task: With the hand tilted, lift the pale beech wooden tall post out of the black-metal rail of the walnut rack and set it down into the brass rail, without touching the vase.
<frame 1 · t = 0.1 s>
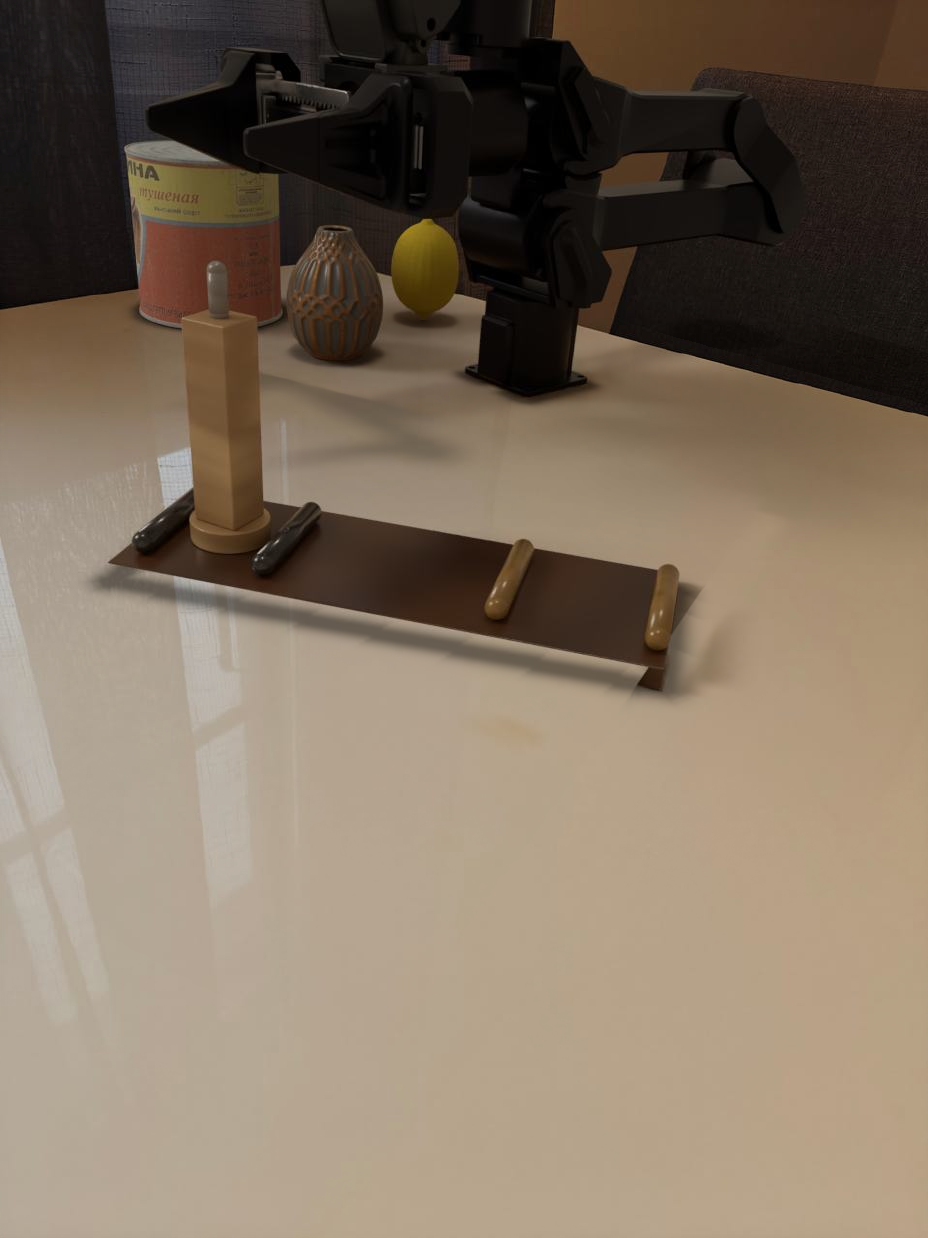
hand: (193, 129, 49), 17 cm above the table, tool horizontal, fingers open, 9 cm apart
canned food: (212, 313, 82), on the table
lemon: (422, 321, 85), on the table
rack: (401, 587, 46), on the table
wooden tall post: (231, 536, 46), point 1 cm above the table, touching rack
vase: (334, 355, 75), on the table
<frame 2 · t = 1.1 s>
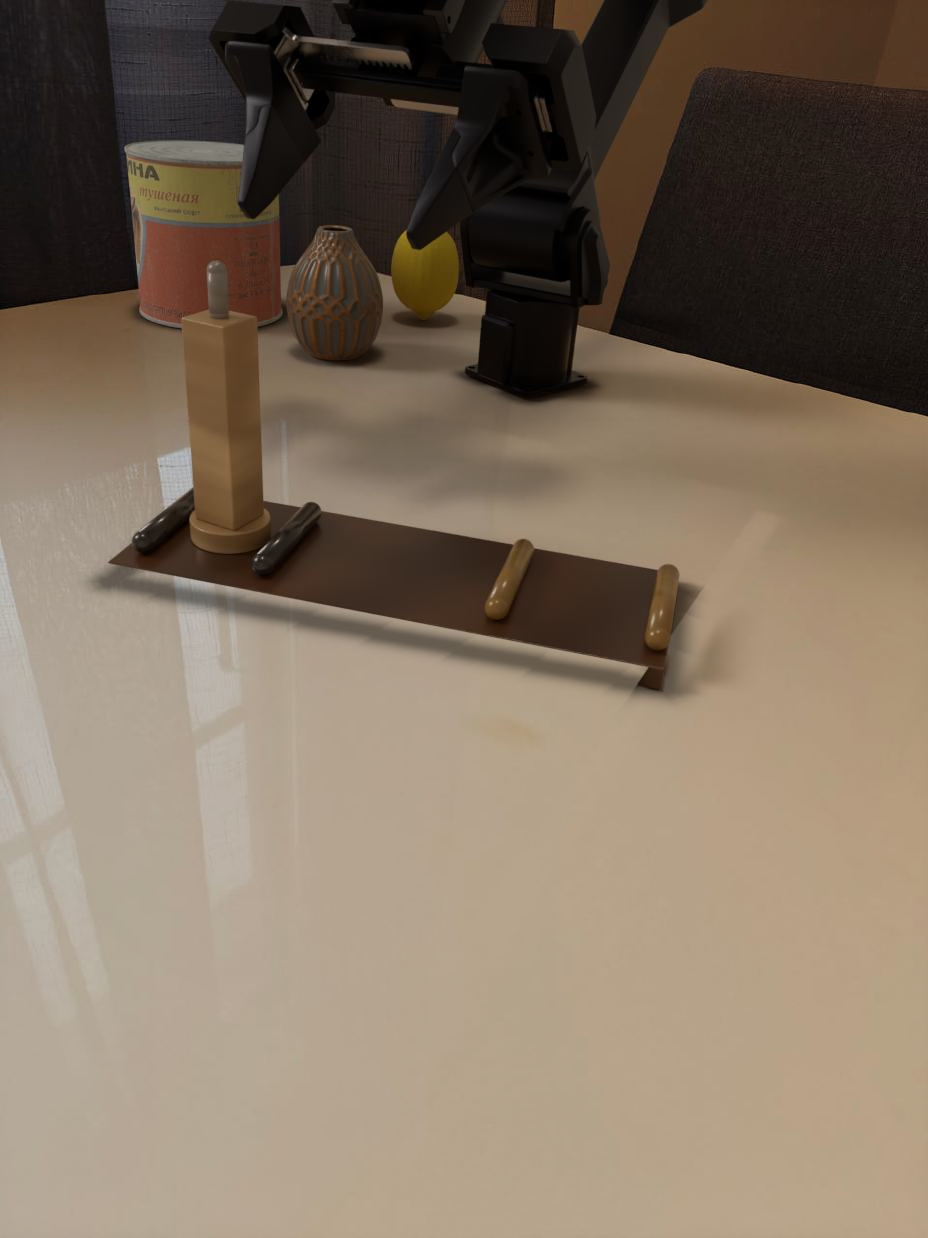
hand: (325, 227, 46), 13 cm above the table, tool tilted 45°, fingers open, 9 cm apart
nothing on the table moved.
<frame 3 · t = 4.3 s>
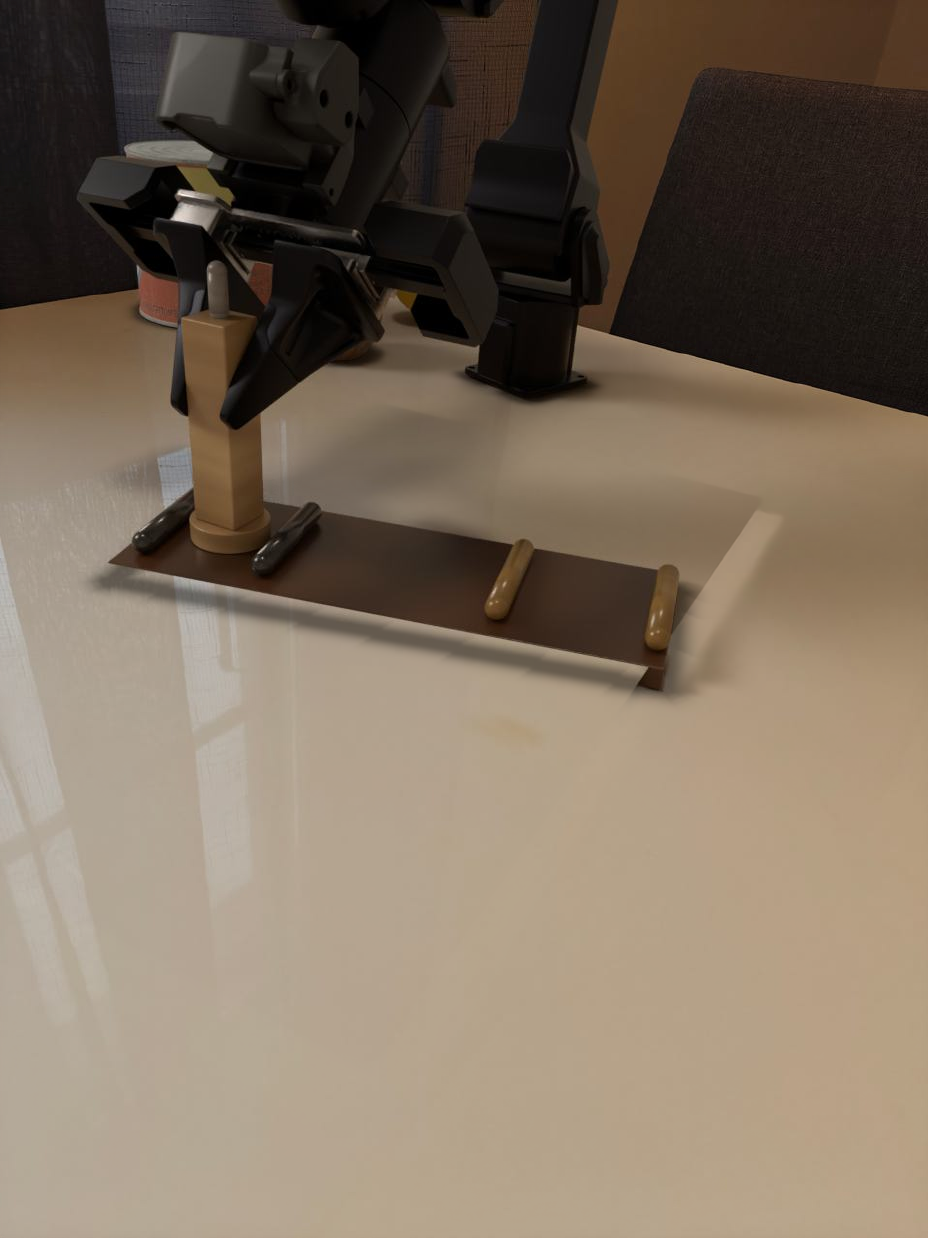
hand: (202, 417, 42), 7 cm above the table, tool tilted 45°, fingers closed on wooden tall post, 2 cm apart
wooden tall post: (231, 536, 46), point 1 cm above the table, touching gripper, rack
everything else where it was.
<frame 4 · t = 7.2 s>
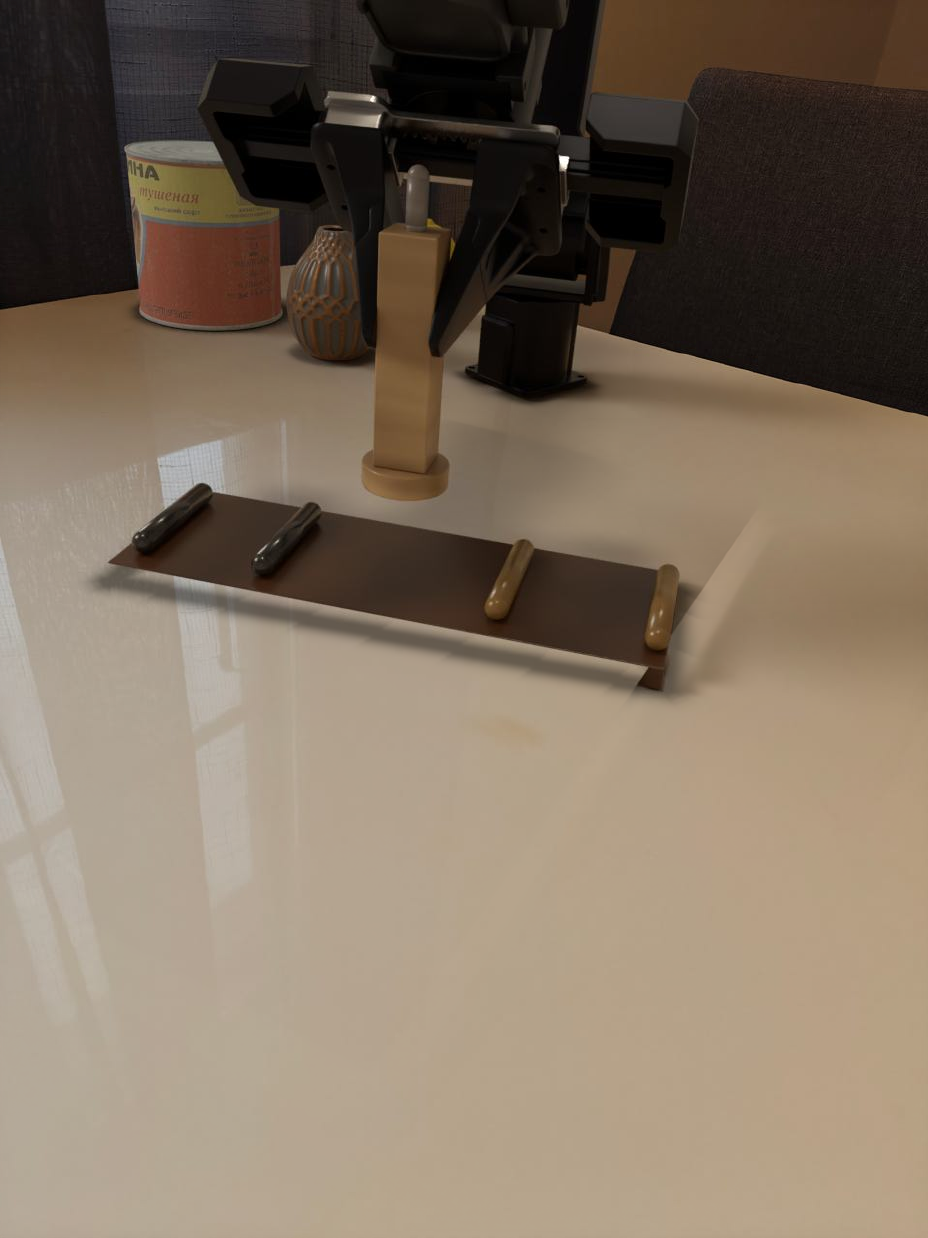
hand: (401, 347, 38), 11 cm above the table, tool tilted 45°, fingers closed on wooden tall post, 2 cm apart
wooden tall post: (404, 483, 42), point 5 cm above the table, touching gripper
everything else where it was.
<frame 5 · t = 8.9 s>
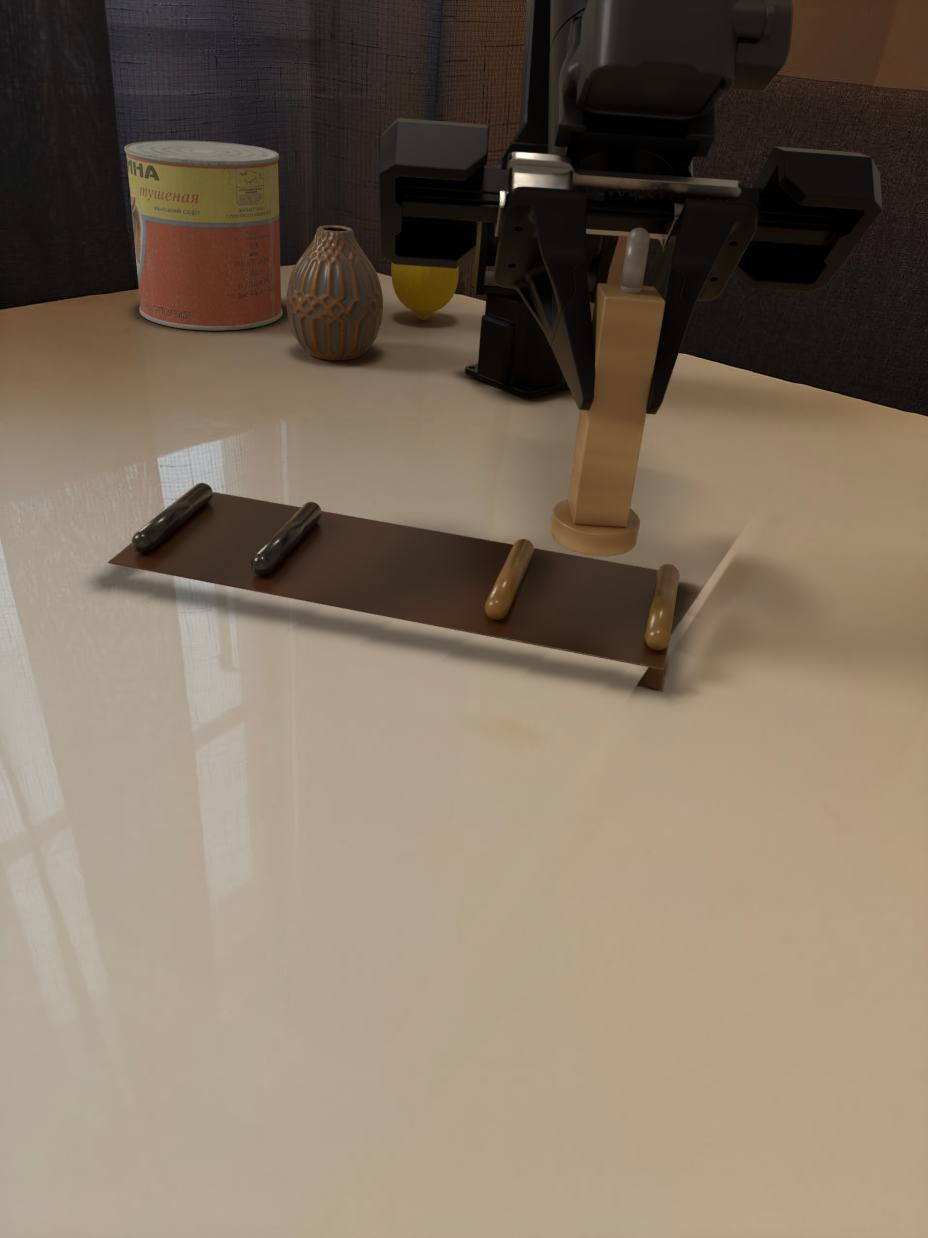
hand: (619, 407, 38), 10 cm above the table, tool tilted 45°, fingers closed on wooden tall post, 2 cm apart
wooden tall post: (593, 536, 42), point 4 cm above the table, touching gripper
everything else where it was.
when the fingers open (7 cm above the table, at t = 10.0 s): wooden tall post stays where it is, resting on rack.
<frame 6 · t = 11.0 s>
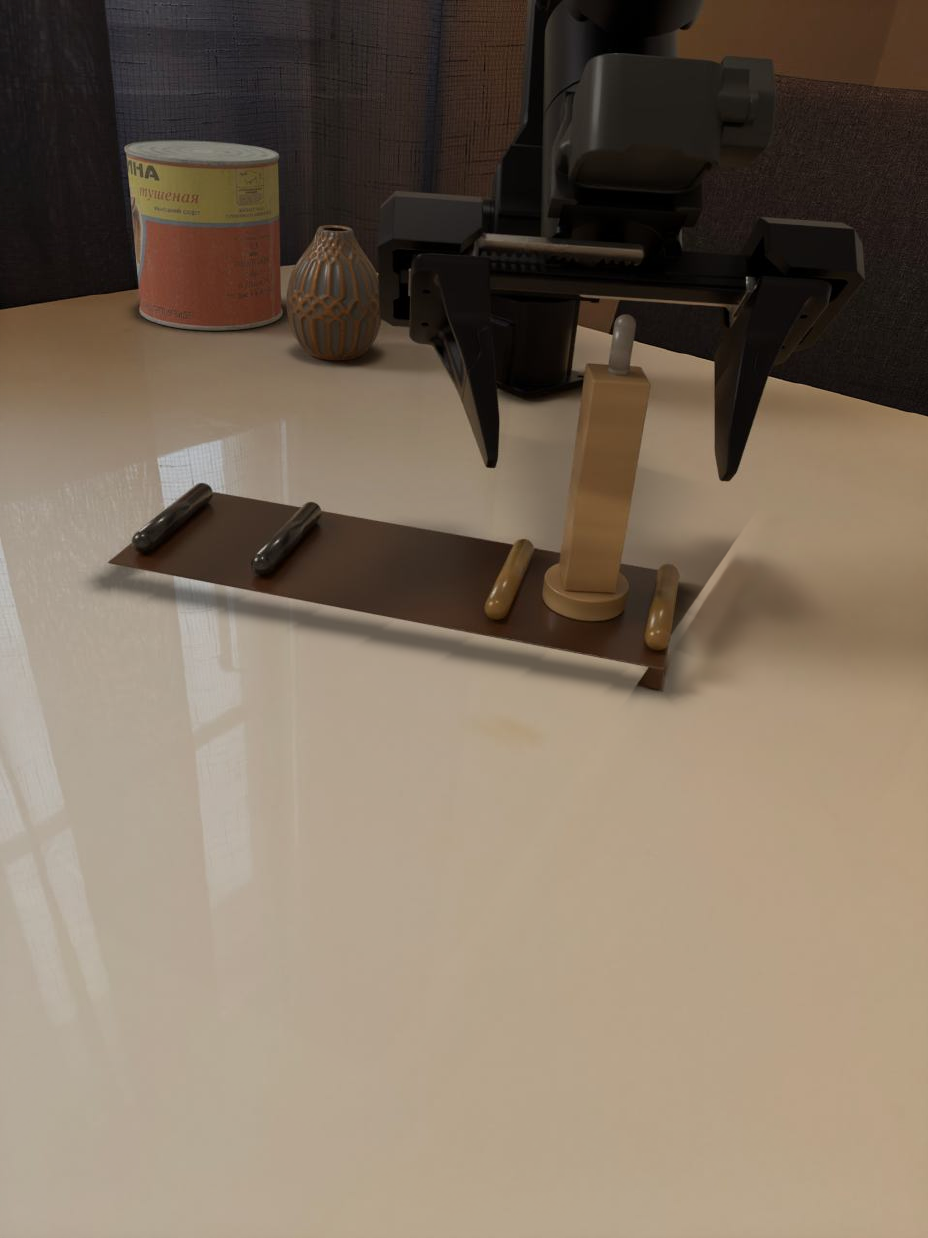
hand: (610, 470, 39), 8 cm above the table, tool tilted 45°, fingers open, 9 cm apart
wooden tall post: (583, 600, 44), point 1 cm above the table, touching rack
everything else where it was.
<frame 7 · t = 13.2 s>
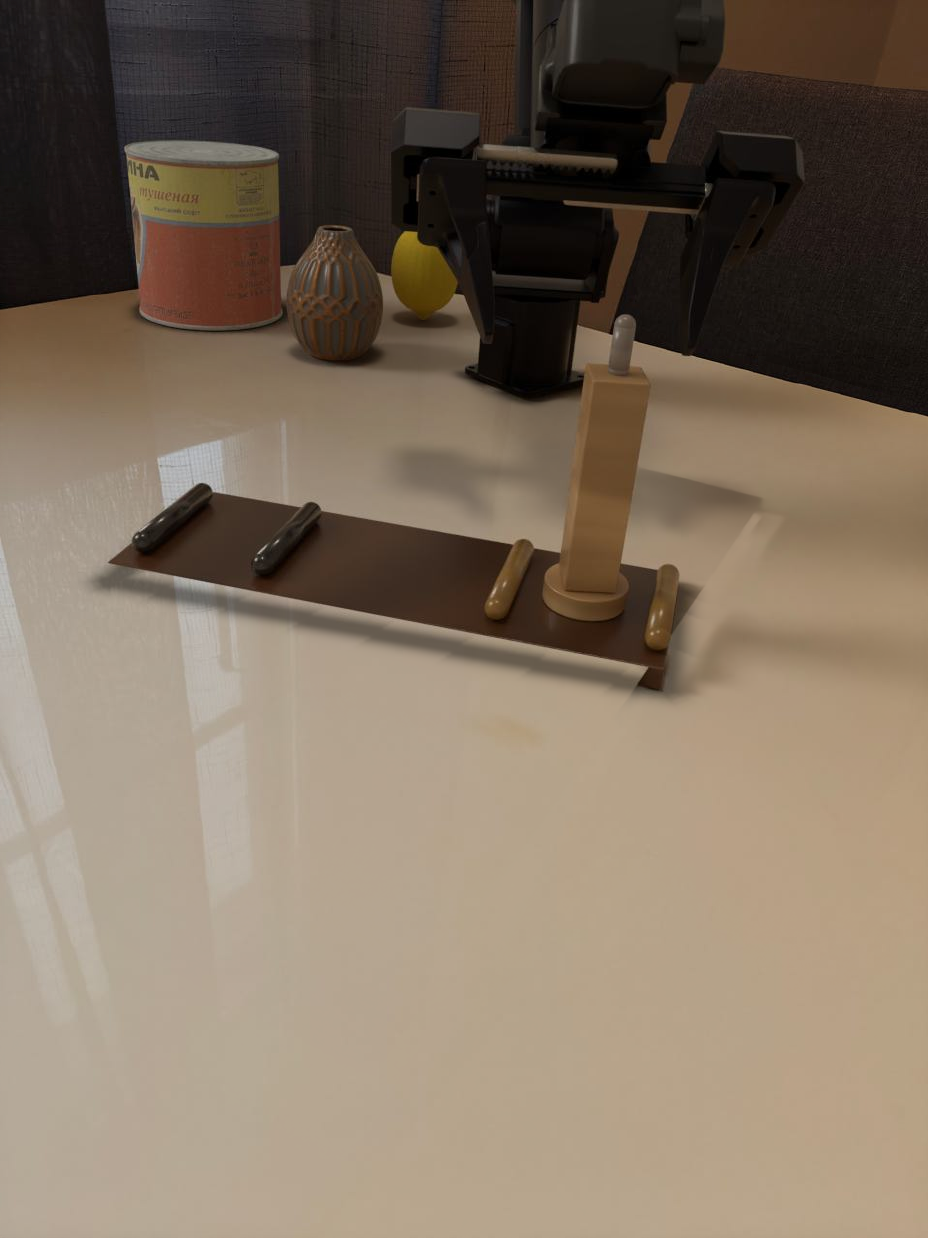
hand: (589, 345, 46), 10 cm above the table, tool tilted 45°, fingers open, 9 cm apart
nothing on the table moved.
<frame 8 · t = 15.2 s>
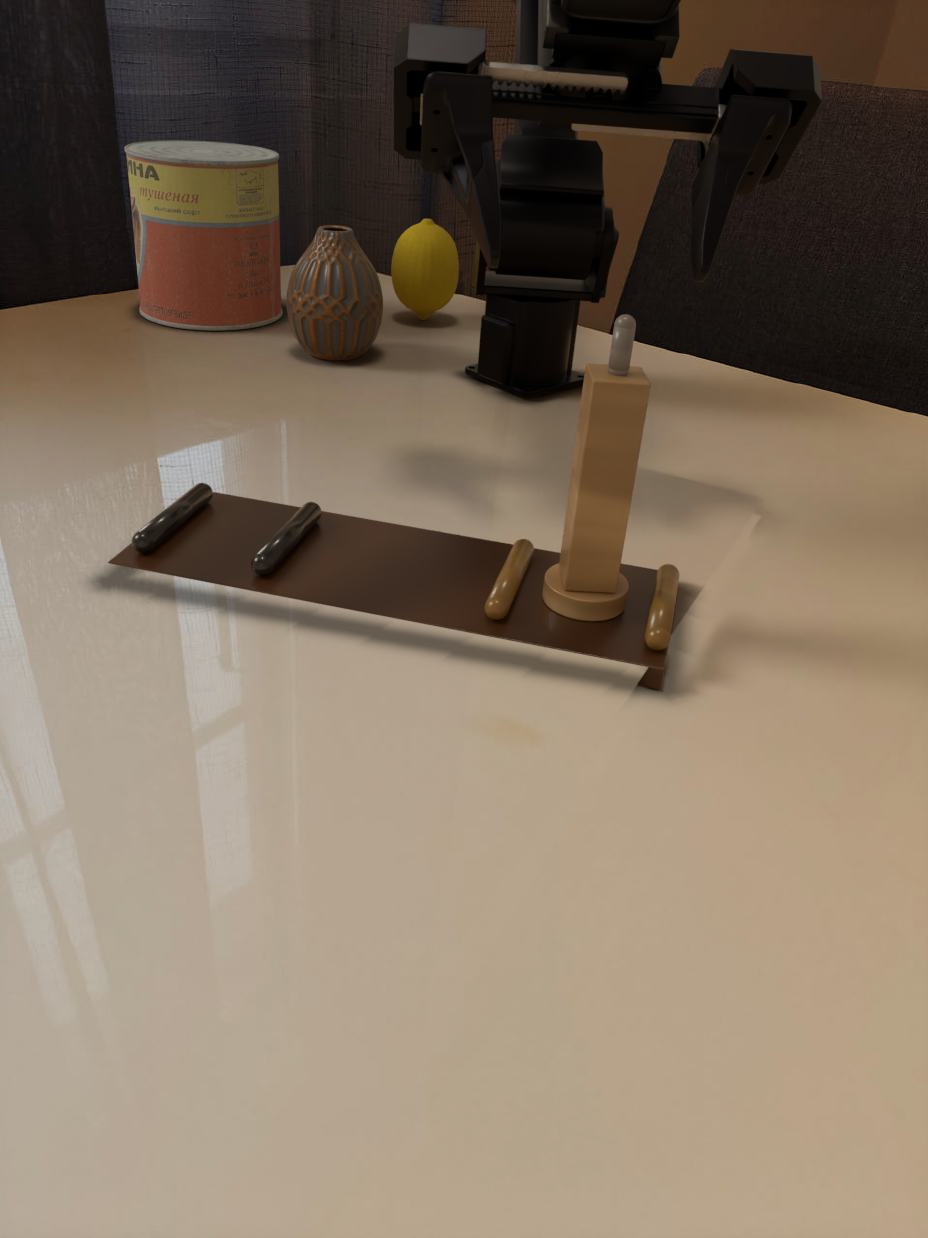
hand: (598, 269, 44), 13 cm above the table, tool tilted 45°, fingers open, 9 cm apart
nothing on the table moved.
at the end: wooden tall post 0.0 cm from the target spot on the rack, point 1.0 cm above the rack's base; wooden tall post tilted 0°; wooden tall post touching rack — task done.
